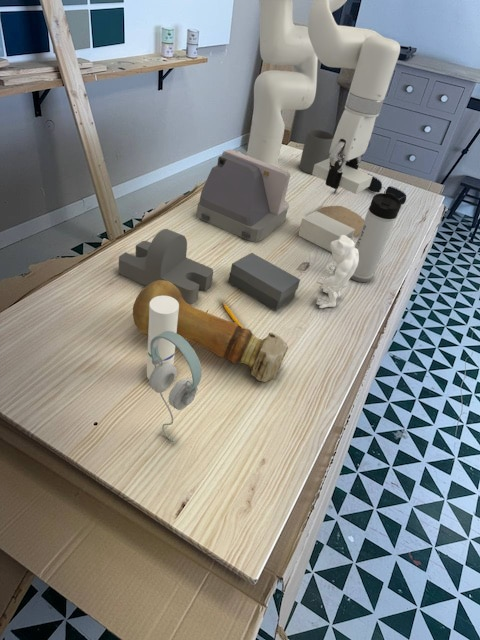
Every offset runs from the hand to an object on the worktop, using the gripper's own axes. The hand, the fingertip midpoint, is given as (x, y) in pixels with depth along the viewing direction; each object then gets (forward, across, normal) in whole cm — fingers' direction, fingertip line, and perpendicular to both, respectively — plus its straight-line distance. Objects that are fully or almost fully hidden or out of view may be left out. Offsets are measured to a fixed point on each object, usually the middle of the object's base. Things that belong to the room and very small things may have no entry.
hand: (339, 182), depth 110 cm
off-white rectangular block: (+17, -2, 0) cm, 17 cm away
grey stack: (+17, +29, +2) cm, 34 cm away
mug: (+17, -42, -27) cm, 52 cm away
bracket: (+17, +42, -14) cm, 48 cm away
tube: (+17, +62, +6) cm, 65 cm away
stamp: (+17, +52, +7) cm, 55 cm away
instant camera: (+17, +7, -21) cm, 28 cm away
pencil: (+17, +43, +8) cm, 47 cm away
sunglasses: (+17, -37, -5) cm, 41 cm away
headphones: (+17, +70, +16) cm, 74 cm away
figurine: (+17, +20, +14) cm, 30 cm away
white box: (-1, 0, 0) cm, 1 cm away
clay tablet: (+17, -15, -3) cm, 23 cm away
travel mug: (+17, +5, +14) cm, 23 cm away
